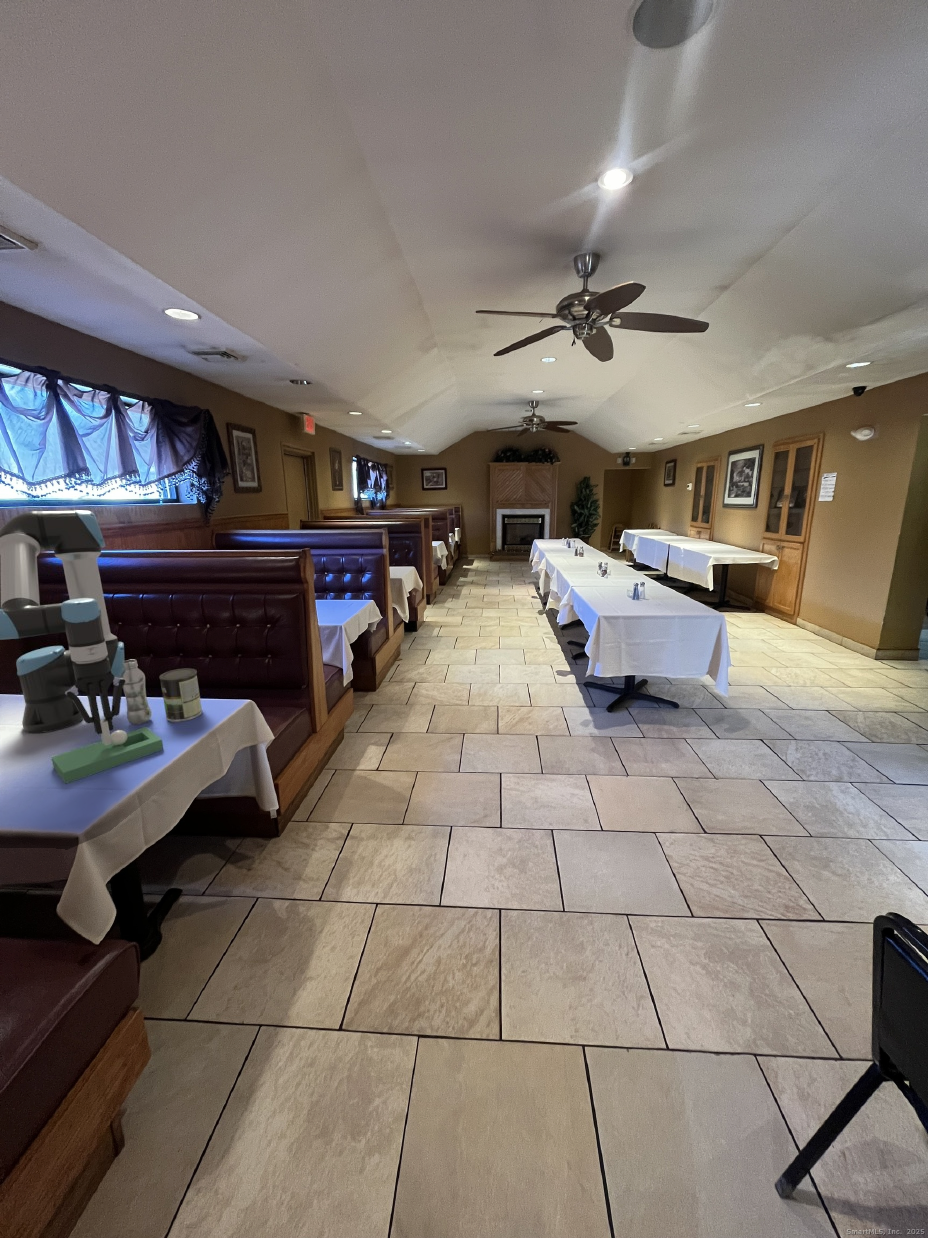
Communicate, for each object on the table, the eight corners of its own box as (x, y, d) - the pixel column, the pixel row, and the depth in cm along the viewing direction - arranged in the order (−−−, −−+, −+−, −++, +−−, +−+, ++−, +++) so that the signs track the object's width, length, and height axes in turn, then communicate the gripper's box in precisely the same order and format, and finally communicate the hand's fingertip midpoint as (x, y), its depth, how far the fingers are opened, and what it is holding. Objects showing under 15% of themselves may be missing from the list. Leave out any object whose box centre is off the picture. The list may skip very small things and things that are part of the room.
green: (53, 767, 129) (51, 757, 129) (147, 736, 146) (146, 726, 145) (65, 784, 122) (63, 773, 121) (163, 749, 138) (161, 739, 137)
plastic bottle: (127, 729, 150) (115, 666, 145) (129, 720, 156) (117, 660, 151) (152, 724, 153) (141, 662, 148) (153, 715, 159) (142, 656, 154)
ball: (127, 730, 137) (120, 744, 137) (111, 727, 135) (104, 741, 134) (132, 734, 135) (125, 748, 134) (116, 731, 132) (108, 745, 131)
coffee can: (165, 724, 153) (158, 682, 149) (166, 712, 162) (159, 671, 158) (203, 717, 158) (197, 675, 154) (202, 705, 166) (196, 666, 163)
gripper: (62, 669, 120) (81, 757, 125) (124, 655, 129) (139, 738, 135) (55, 662, 124) (73, 747, 130) (115, 650, 134) (130, 730, 140)
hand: (107, 743), depth 132 cm, fingers closed
